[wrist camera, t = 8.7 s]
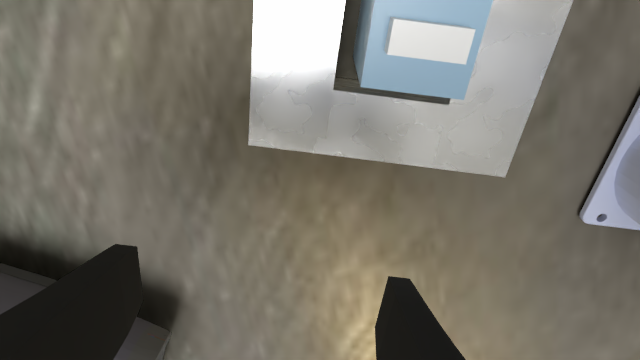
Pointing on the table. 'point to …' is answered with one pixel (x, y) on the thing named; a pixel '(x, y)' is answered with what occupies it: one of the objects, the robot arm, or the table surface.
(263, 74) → the grey socket board
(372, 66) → the plug
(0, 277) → the bluetooth speaker
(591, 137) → the table surface
